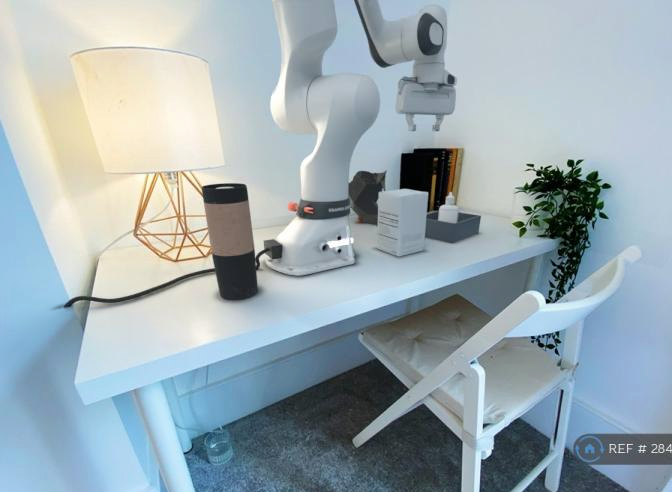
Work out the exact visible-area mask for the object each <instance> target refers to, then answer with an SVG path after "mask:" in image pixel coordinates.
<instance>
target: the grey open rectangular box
mask: <svg viewBox="0 0 672 492" xmlns="http://www.w3.org/2000/svg"><path fill="white" fill-rule="evenodd" d="M438 215H439V210H436V211H432V212H429V213H428V212H427V216H426V228H425V238H428V239H432V240H437V241H442V242H446V243H450V244H454V243H456V242H459V241H461V240H464V239H467V238H470V237H472V236H475V235H478V234H479V231H480V225H481V219H482V215H479V214H473V213H468V212H467V213H466V212H460V211H459V212H458V220H457V223H450V222H444V221H438Z"/></svg>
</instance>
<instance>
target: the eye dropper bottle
mask: <svg viewBox="0 0 672 492" xmlns="http://www.w3.org/2000/svg"><path fill="white" fill-rule="evenodd" d="M455 199H456V198H455V196H454V195H453V191H450V192H449V193H448V195H447V196H445V202H444V203H445V204H442V205H440V206H439V208H438V211H439V215H438V221H444V222H450V223H457V220H458V212H460V208H459V206H457V205H455Z"/></svg>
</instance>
